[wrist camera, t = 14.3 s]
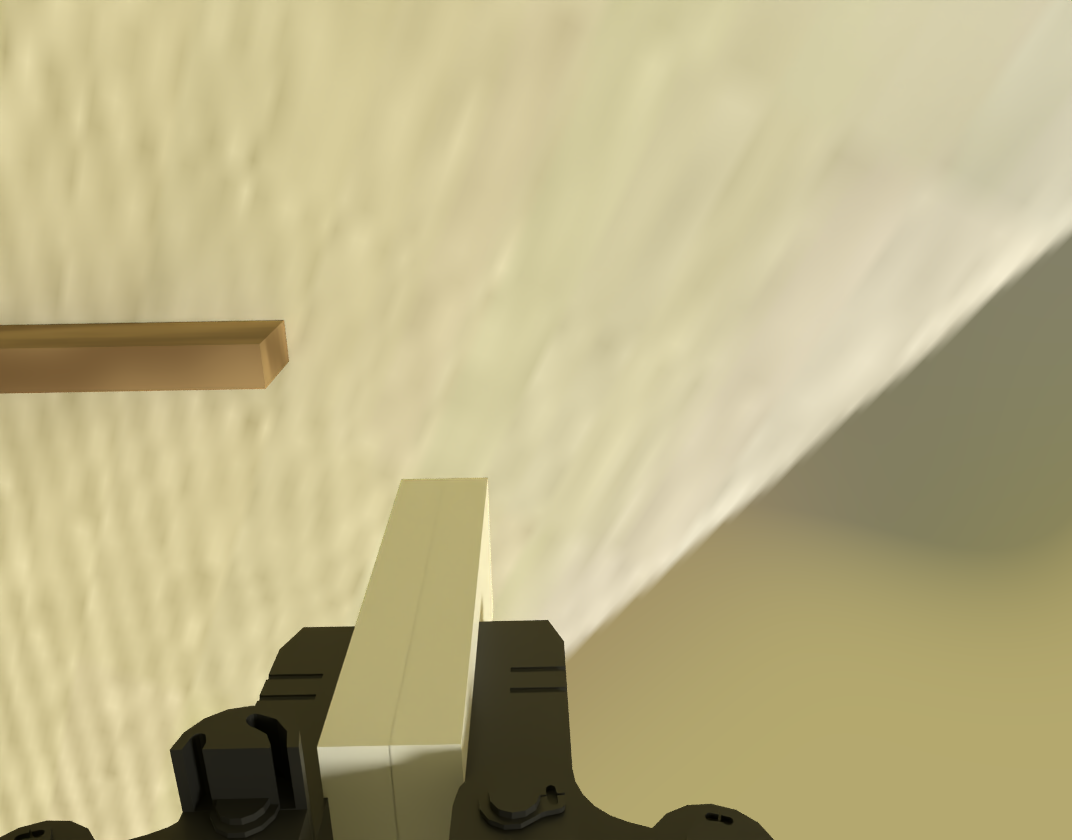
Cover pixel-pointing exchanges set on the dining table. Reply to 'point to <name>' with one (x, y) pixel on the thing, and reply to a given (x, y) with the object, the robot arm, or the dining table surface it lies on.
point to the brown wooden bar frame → (141, 356)
